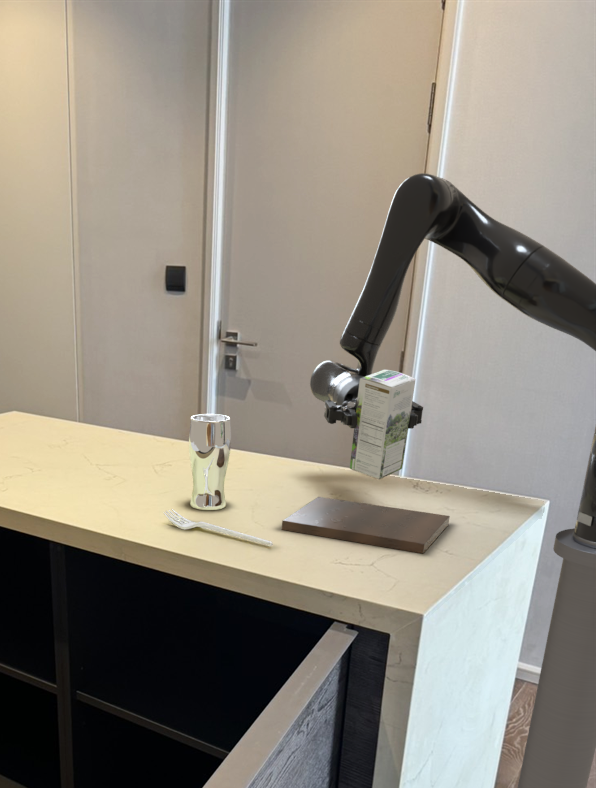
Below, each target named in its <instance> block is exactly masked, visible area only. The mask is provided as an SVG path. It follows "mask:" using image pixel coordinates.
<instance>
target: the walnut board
mask: <svg viewBox="0 0 596 788" xmlns="http://www.w3.org/2000/svg"><path fill="white" fill-rule="evenodd" d="M450 518H451V516H450V515H445V514H440V513H433V512H432V513H431V512H426V511H419V510H414V509H413V510H411V509H405V508H399V507H391V506H385V505H377V504H371V503H365V502H358V501H351V500H344V499H337V498H330V497H325V496H317V497H315V498H314V499H312V500H311V501H310V502H308V503H307V504H305V505H303V506H301V507H300V508H298V510H296V511H294V512H293V513H292V514H290V515H288V516H287V517H286V518H284V519H282V521H281V530H282V531H289V532H294V533H300V534H305V535H311V536H318V537H323V538H329V539H335V540H341V541H348V542H351V543H359V544H366V545H370V546H377V547H382V548H388V549H393V550H400V551H407V552H411V553H417V554H424V553H425V552H426V551H427V550H428V548H429V547H430V546H431V545H432V544H433V543H434V542H435V541H436V539H438V537H439V536H440V535H441V534H442V533H443V532H444V531H445V529H446V528H447V527H448V526H449V525H450V524H449V523H450Z"/></svg>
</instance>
